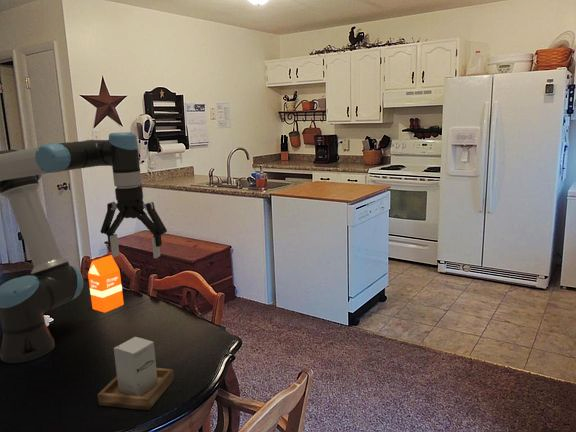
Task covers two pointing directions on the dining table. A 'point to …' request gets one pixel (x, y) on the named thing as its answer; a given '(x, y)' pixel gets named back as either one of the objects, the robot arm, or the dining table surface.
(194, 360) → the dining table surface
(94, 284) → the orange juice
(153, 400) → the tray
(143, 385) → the supplement box
